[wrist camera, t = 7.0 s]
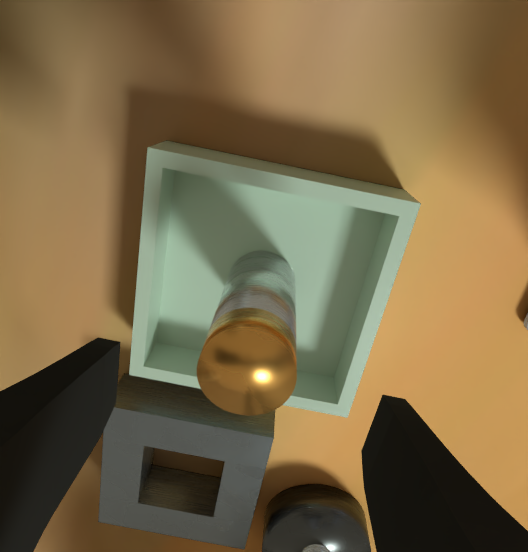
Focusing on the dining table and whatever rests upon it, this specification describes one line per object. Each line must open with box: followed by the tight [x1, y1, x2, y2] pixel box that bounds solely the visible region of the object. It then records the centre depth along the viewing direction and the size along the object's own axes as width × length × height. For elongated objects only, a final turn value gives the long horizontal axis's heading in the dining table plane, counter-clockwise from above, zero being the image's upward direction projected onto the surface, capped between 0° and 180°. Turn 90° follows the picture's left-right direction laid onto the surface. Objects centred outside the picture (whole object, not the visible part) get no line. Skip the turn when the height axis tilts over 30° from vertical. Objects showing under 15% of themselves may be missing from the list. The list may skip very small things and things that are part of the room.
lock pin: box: [197, 251, 297, 416], centre depth 16 cm, size 3×3×7 cm
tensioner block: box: [98, 374, 371, 552], centre depth 23 cm, size 15×11×3 cm
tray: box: [129, 140, 421, 417], centre depth 19 cm, size 10×10×2 cm
